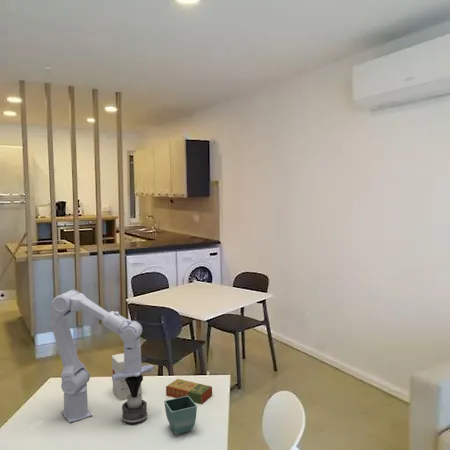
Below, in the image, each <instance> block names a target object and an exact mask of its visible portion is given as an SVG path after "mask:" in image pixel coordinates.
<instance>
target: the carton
mask: <svg viewBox="0 0 450 450" xmlns="http://www.w3.org/2000/svg"><path fill="white" fill-rule="evenodd" d="M165 393H166V397H170V398H172V399H175V398H180V397H184V396H189V397H190V398H191V399H192V400H193V402H194V403H195V404H196V405H203V404H204V403H205V402H206V401H208V400H209V399H210V398H211V397H212V396H213V387H212V386H211V385H208V384H204V383H203V384H202V383H198V382H193V381H191V380H190V381H189V380H185V379H180V378H176V380H173V381H172V382H170V383H169V384H168V385H166V386H165Z"/></svg>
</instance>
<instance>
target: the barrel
mask: <svg viewBox="0 0 450 450" xmlns="http://www.w3.org/2000/svg"><path fill="white" fill-rule="evenodd" d="M147 404H148V402H147V401H145V400H144V399H142V407H141V408H137V409H127V400H126V401H125V402H124V403H122V405H121V411H122V416H121V417H122V418H121V420H122V422H123V424H125V425H130V426H137V425H140V424H142V423H144V422H145V421H147V420H148V410H147V409H148V408H147V407H148V406H147Z"/></svg>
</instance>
